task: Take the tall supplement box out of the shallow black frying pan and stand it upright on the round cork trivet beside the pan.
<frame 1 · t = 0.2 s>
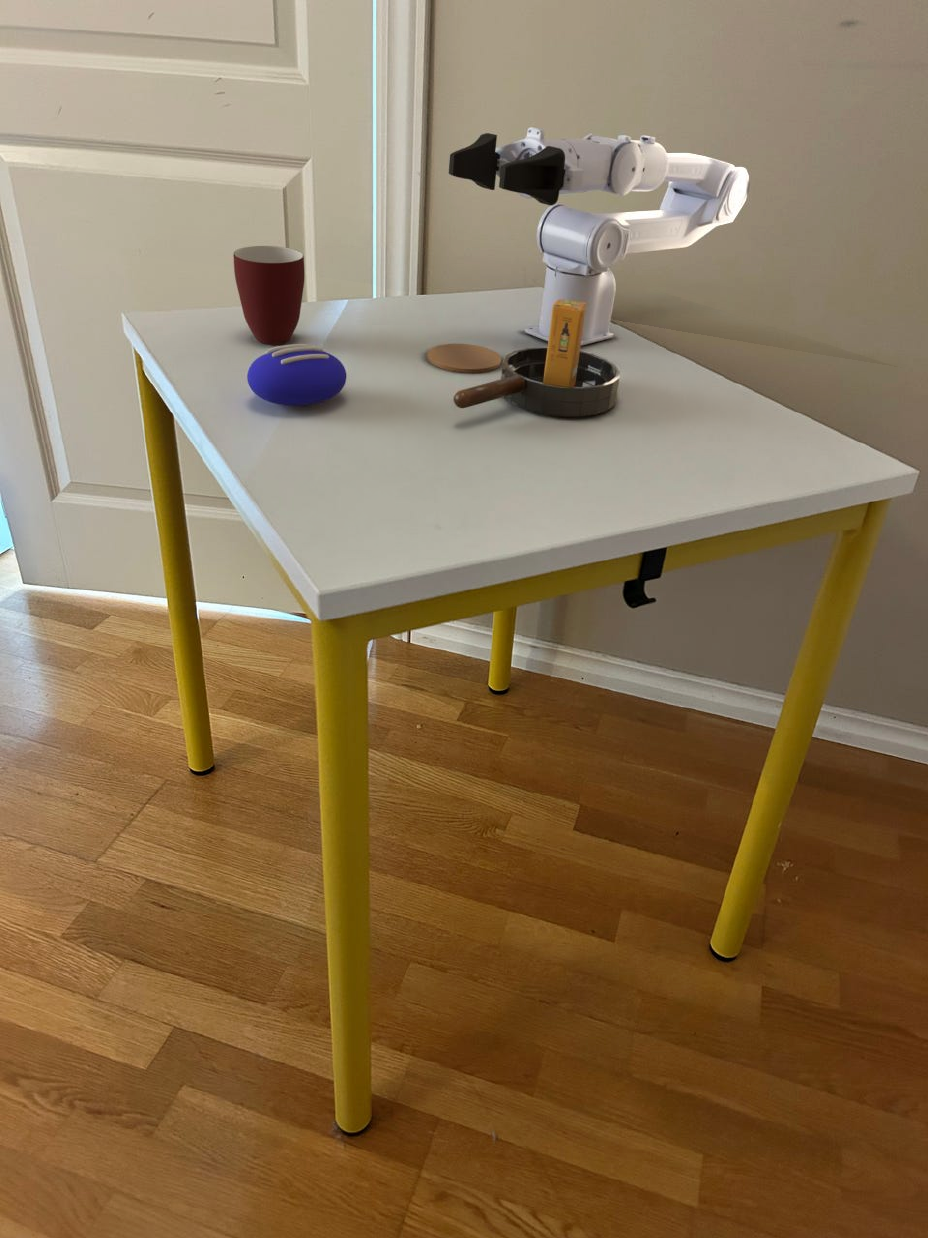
hand: (476, 170, 94), 21 cm above the table, tool horizontal, fingers open, 7 cm apart
trivet: (464, 359, 107), on the table
mug: (274, 338, 109), on the table
pan: (557, 396, 100), on the table
decorative object: (296, 400, 94), on the table
supplement box: (557, 394, 100), resting on pan
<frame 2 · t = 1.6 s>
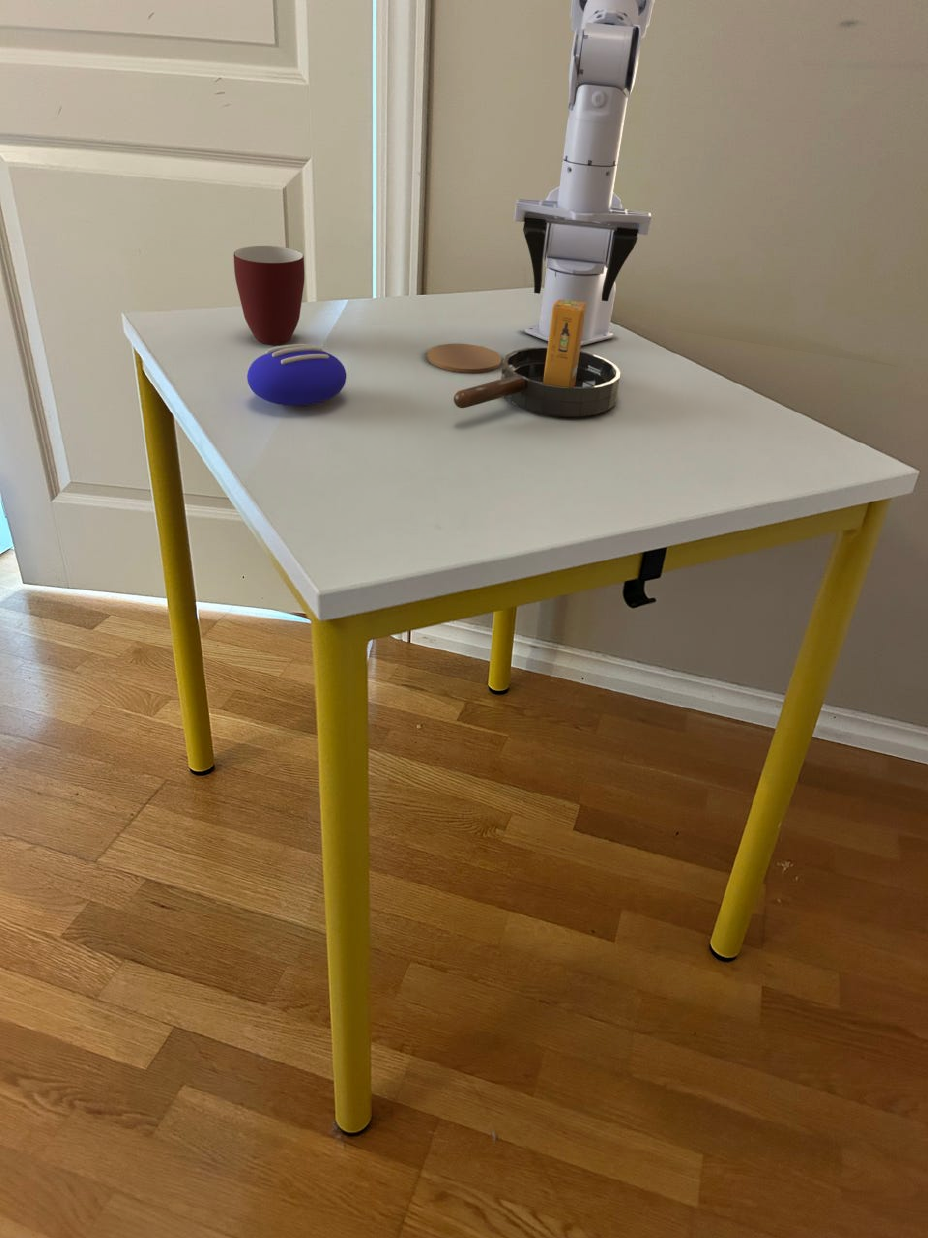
hand: (571, 294, 100), 9 cm above the table, tool pointing down, fingers open, 7 cm apart
nothing on the table moved.
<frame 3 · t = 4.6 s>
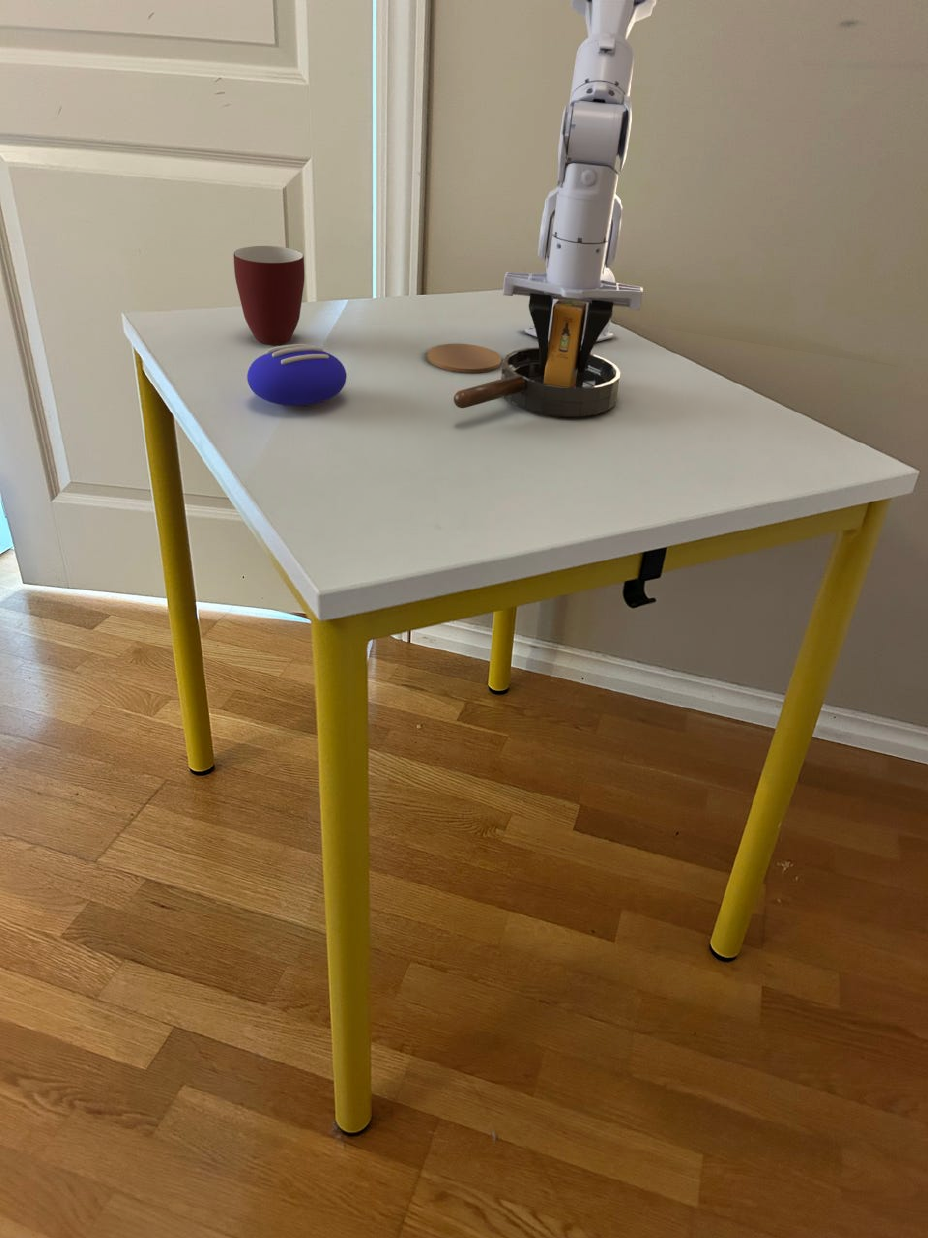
hand: (561, 367, 98), 3 cm above the table, tool pointing down, fingers closed on supplement box, 3 cm apart
supplement box: (558, 394, 100), resting on pan, touching gripper
everything else where it was.
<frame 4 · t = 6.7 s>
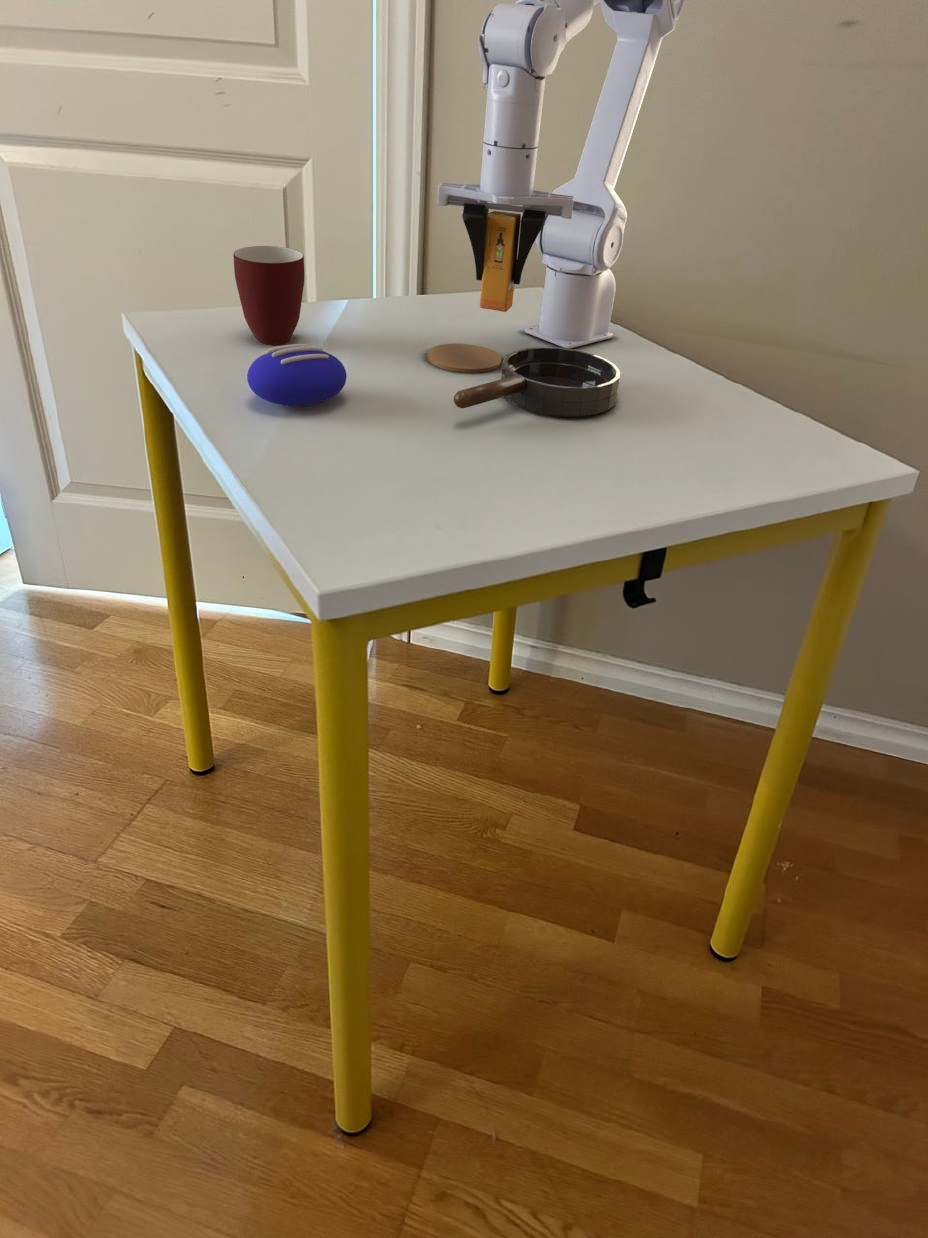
hand: (498, 279, 99), 10 cm above the table, tool pointing down, fingers closed on supplement box, 3 cm apart
supplement box: (495, 308, 101), point 7 cm above the table, touching gripper
everything else where it was.
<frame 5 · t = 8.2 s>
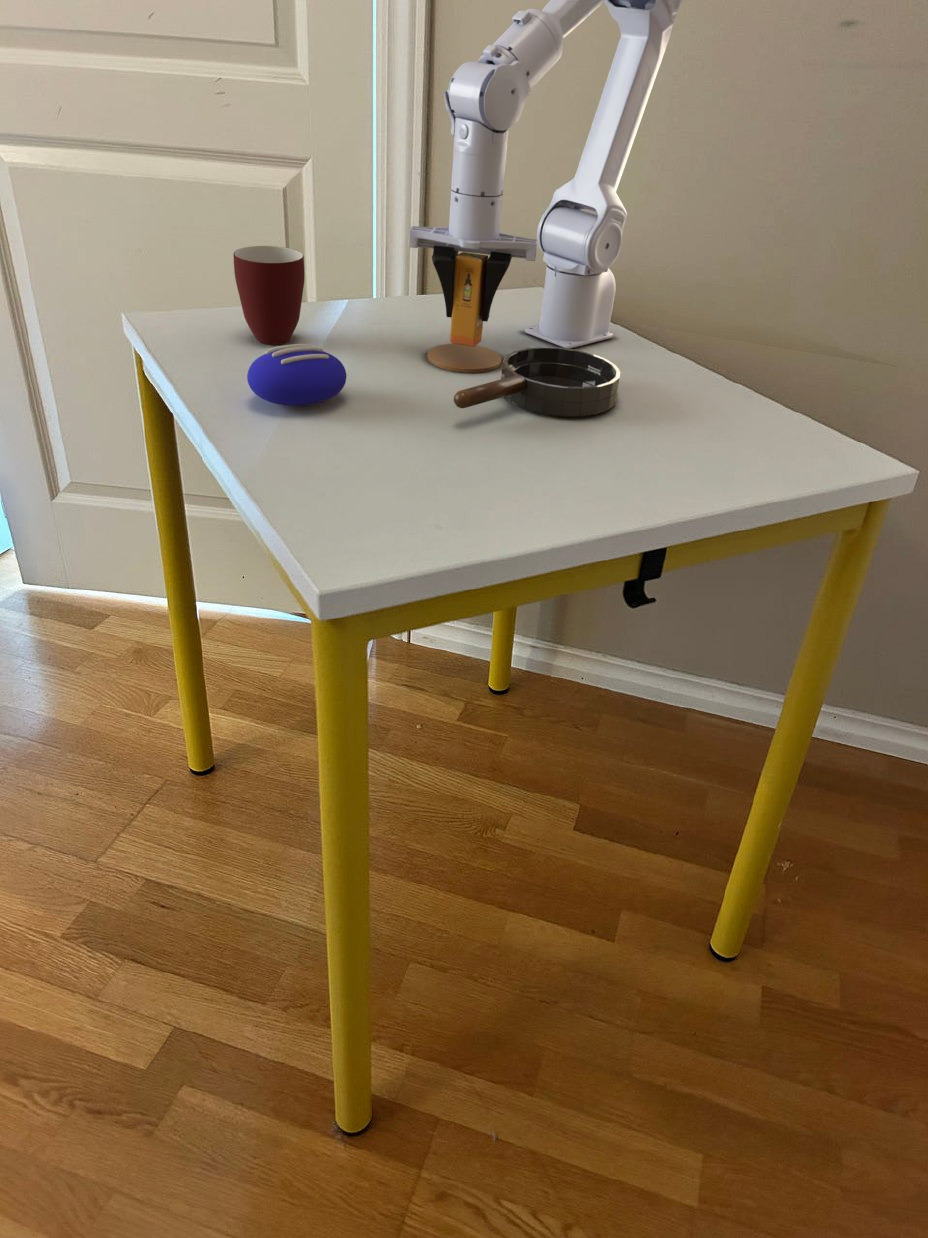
hand: (467, 316, 104), 5 cm above the table, tool pointing down, fingers closed on supplement box, 3 cm apart
supplement box: (465, 343, 106), point 2 cm above the table, touching gripper
everything else where it was.
when the fingers open (3 cm above the table, at t = 9.1 s): supplement box stays where it is, resting on trivet.
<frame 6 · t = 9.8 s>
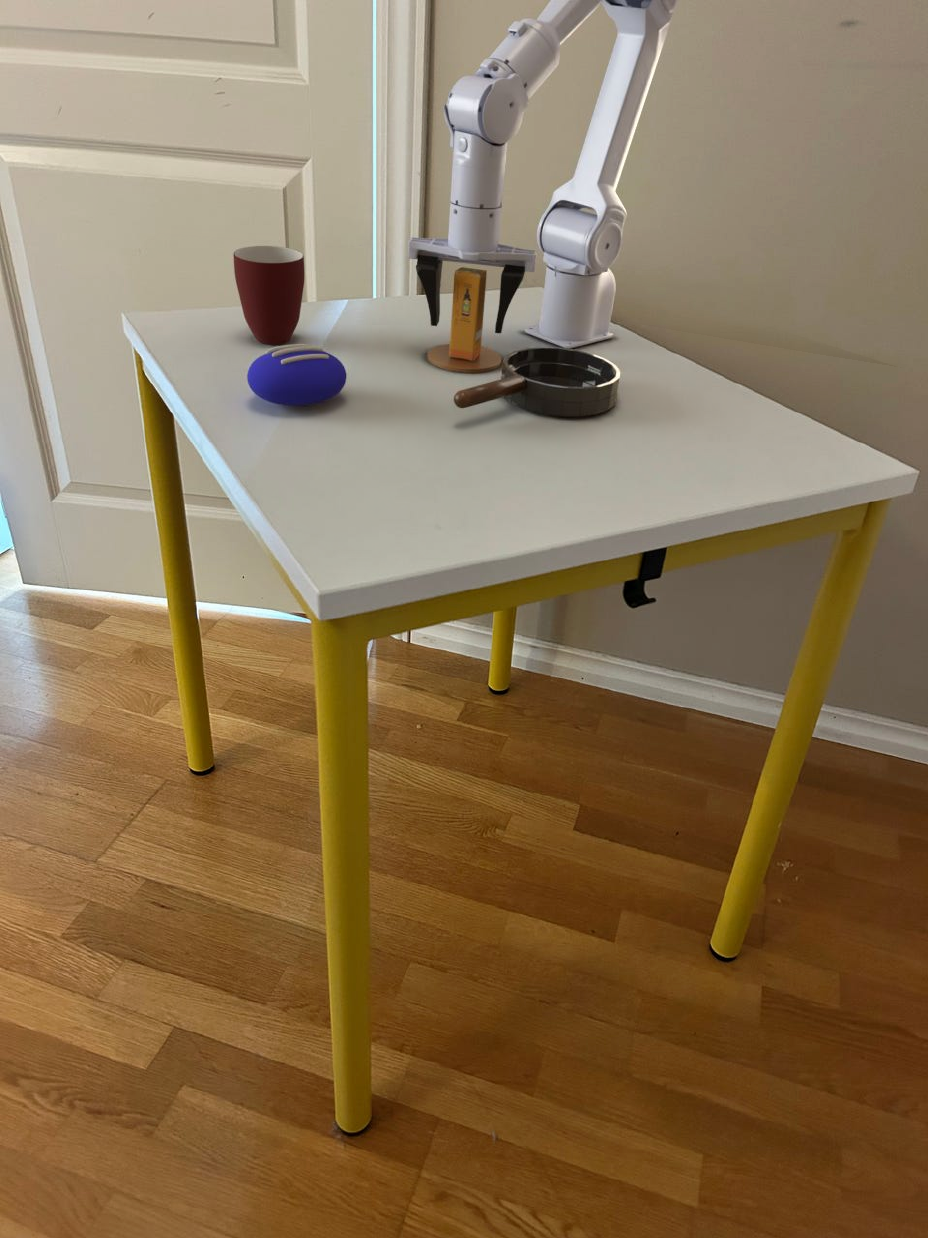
hand: (466, 327, 105), 4 cm above the table, tool pointing down, fingers open, 7 cm apart
supplement box: (464, 357, 107), resting on trivet
everything else where it was.
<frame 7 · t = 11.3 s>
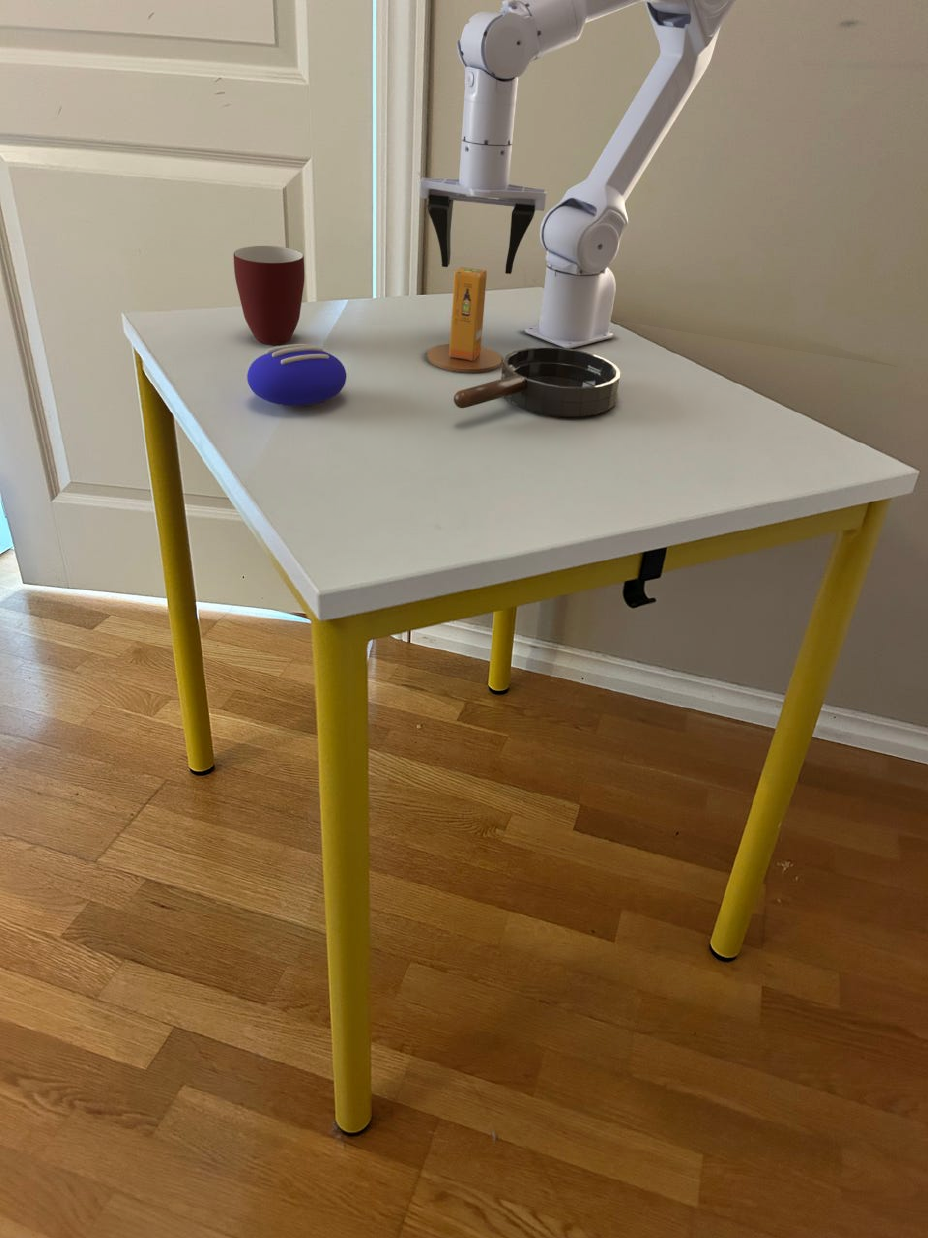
hand: (477, 268, 106), 9 cm above the table, tool pointing down, fingers open, 7 cm apart
nothing on the table moved.
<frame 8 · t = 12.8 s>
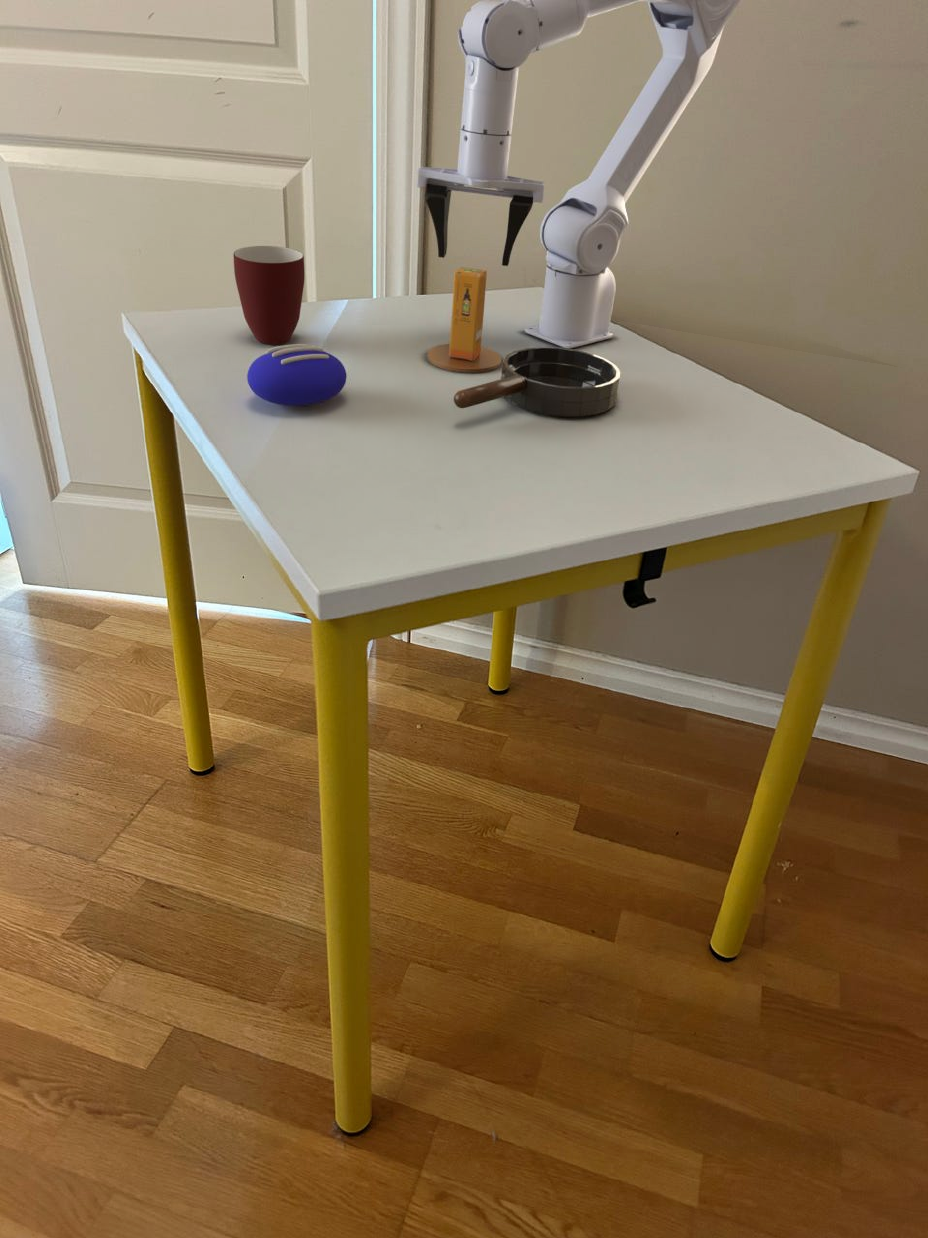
hand: (473, 259, 106), 10 cm above the table, tool pointing down, fingers open, 7 cm apart
nothing on the table moved.
at the end: supplement box 0.1 cm off-centre on the trivet, point 0.3 cm above the trivet's base; supplement box tilted 0°; supplement box touching trivet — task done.
